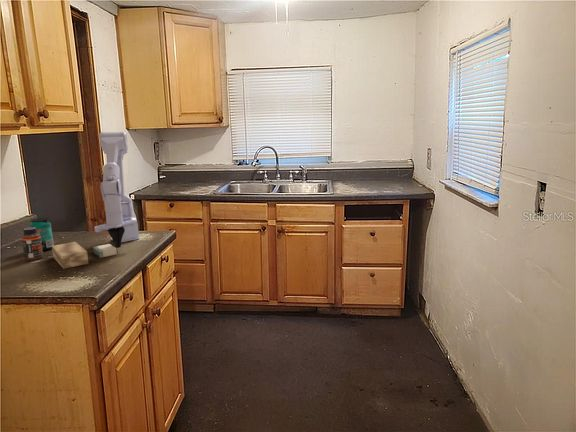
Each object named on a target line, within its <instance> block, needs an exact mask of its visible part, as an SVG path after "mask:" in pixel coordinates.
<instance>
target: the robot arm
mask: <svg viewBox="0 0 576 432" xmlns="http://www.w3.org/2000/svg"><path fill="white" fill-rule="evenodd" d="M98 136H99V138H98V139H99V145H100V147H101V150H102V152H103V153H104V155H105V157H106V164H104V165H103V168H102V169H103V170H102V171H103V173H102V174H103V175H102V182H100V192H101V195H102V201H103V202H104V203H103V204H104V210H105V219H106V223H103V224H100V225H96V226H94V232H95V233H100V232H105V231H107V233H108V234H109V235H110V240H111V241H113V244H114V247H115V248H116V249H119V248H122V247H121V244H122V243H125V242H129V241H135V240H140V239H141V238H140V233H139V225H138V220H137V218H136V217H134V216H135V215H134V214H135V213H134V212H135V211H134V204H133V199H132V198H131V197H129V196H128V195H126V193H125V192H126V191H125V190H126V189H125V178H124V177H125V176H124V163H123V160H124V155H126V154H127V153H128V150H129V149H128V148H129V146H128V137H127V136H128V135H127V133H126V131H111V132H110V131H105V132H104V131H101V132H100V133H99V135H98Z"/></svg>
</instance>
